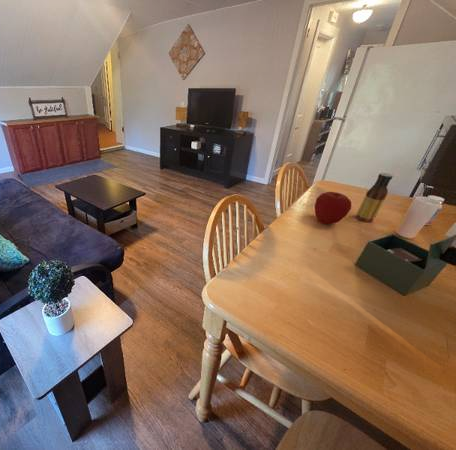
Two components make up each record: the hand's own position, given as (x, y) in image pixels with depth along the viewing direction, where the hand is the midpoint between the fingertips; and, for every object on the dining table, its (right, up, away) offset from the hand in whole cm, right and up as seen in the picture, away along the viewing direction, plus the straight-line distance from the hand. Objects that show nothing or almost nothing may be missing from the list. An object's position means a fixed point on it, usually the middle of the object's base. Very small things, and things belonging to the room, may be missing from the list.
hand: (448, 261), depth 62 cm
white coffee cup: (+21, +5, +31) cm, 38 cm away
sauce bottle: (+14, +12, +42) cm, 46 cm away
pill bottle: (+36, +11, +40) cm, 55 cm away
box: (-3, -6, +13) cm, 14 cm away
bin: (-3, -6, +13) cm, 14 cm away
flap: (-1, +3, +1) cm, 3 cm away
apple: (-4, +11, +39) cm, 41 cm away
